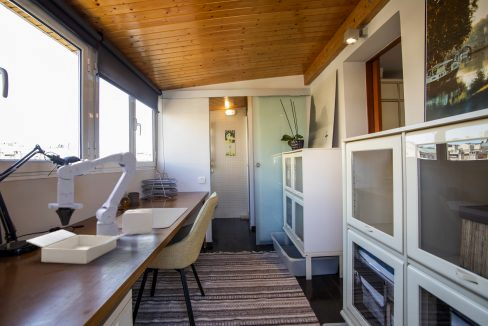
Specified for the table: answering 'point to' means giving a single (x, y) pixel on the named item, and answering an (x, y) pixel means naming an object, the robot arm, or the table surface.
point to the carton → (77, 249)
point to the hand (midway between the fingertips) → (65, 225)
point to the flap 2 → (110, 240)
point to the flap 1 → (51, 238)
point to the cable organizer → (137, 221)
